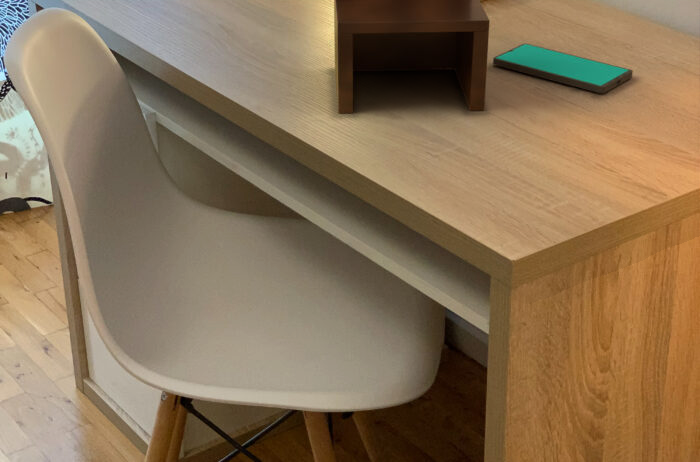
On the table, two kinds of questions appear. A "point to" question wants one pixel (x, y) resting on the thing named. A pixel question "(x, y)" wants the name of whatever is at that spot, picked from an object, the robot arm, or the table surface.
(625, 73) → the smartphone
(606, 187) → the table surface
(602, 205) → the table surface
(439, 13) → the shelf
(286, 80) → the table surface
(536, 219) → the table surface
